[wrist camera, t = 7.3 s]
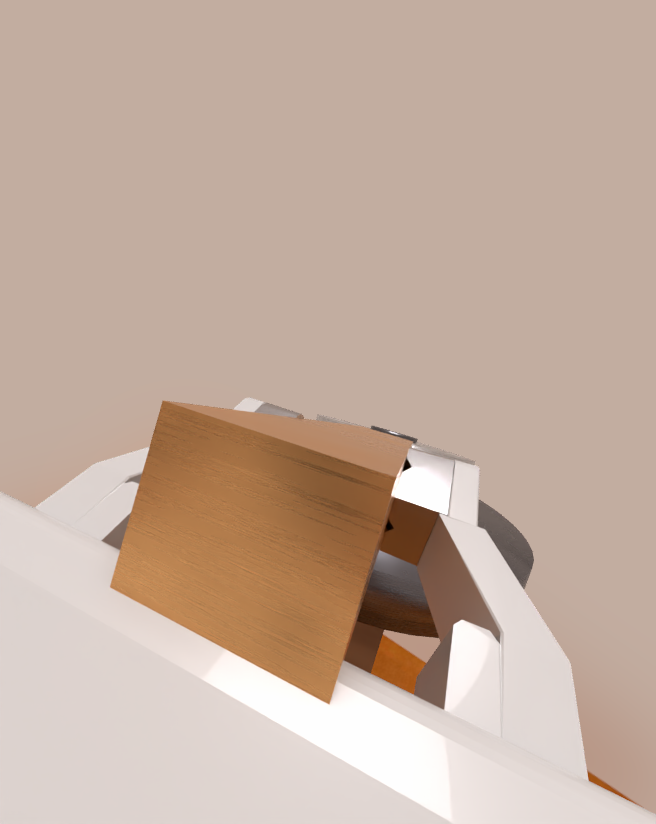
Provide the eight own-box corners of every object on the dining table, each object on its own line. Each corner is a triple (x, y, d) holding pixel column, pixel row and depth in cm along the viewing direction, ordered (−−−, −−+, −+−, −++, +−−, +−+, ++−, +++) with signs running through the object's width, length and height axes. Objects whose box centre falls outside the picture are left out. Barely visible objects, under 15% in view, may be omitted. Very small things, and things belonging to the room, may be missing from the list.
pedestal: (364, 1237, 13) (605, 666, 9) (65, 954, 17) (151, 479, 14) (399, 781, 28) (497, 494, 25) (236, 689, 33) (298, 430, 29)
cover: (882, 1013, 2) (994, 657, 2) (-96, 482, 5) (-52, 322, 5) (455, 481, 25) (464, 451, 25) (330, 441, 28) (338, 414, 28)
